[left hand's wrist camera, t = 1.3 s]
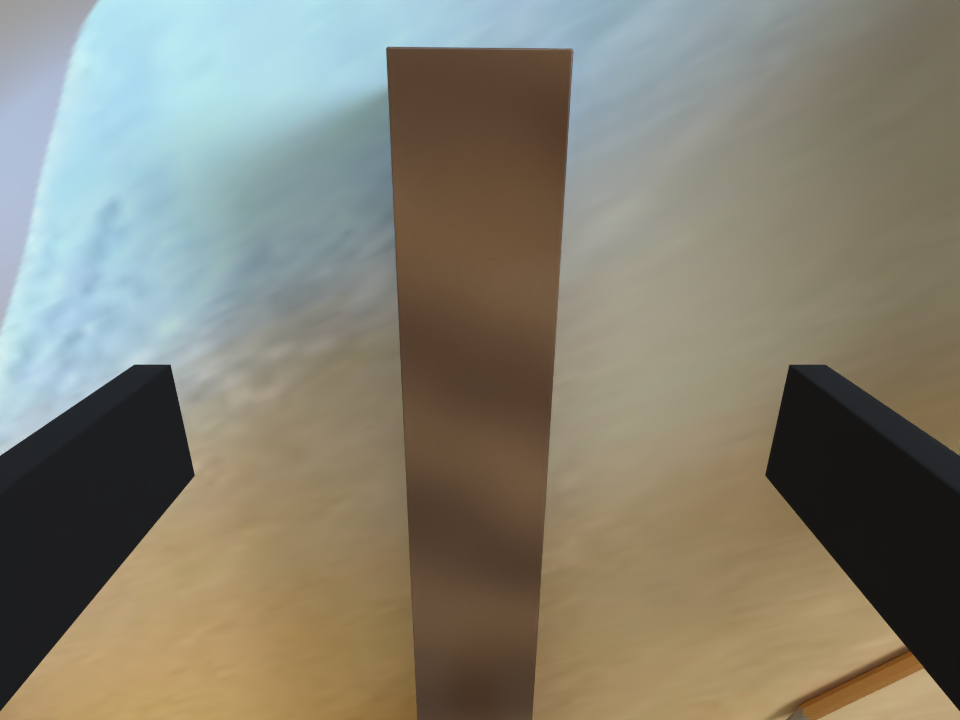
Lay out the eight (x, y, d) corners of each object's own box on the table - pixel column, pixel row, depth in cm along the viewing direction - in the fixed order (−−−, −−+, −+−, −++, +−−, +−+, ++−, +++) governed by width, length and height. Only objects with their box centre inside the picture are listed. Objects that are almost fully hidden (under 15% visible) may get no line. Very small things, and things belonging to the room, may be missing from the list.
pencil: (1082, 565, 32) (774, 716, 36) (1101, 583, 31) (785, 734, 35) (1079, 568, 32) (777, 716, 37) (1097, 585, 32) (787, 734, 36)
